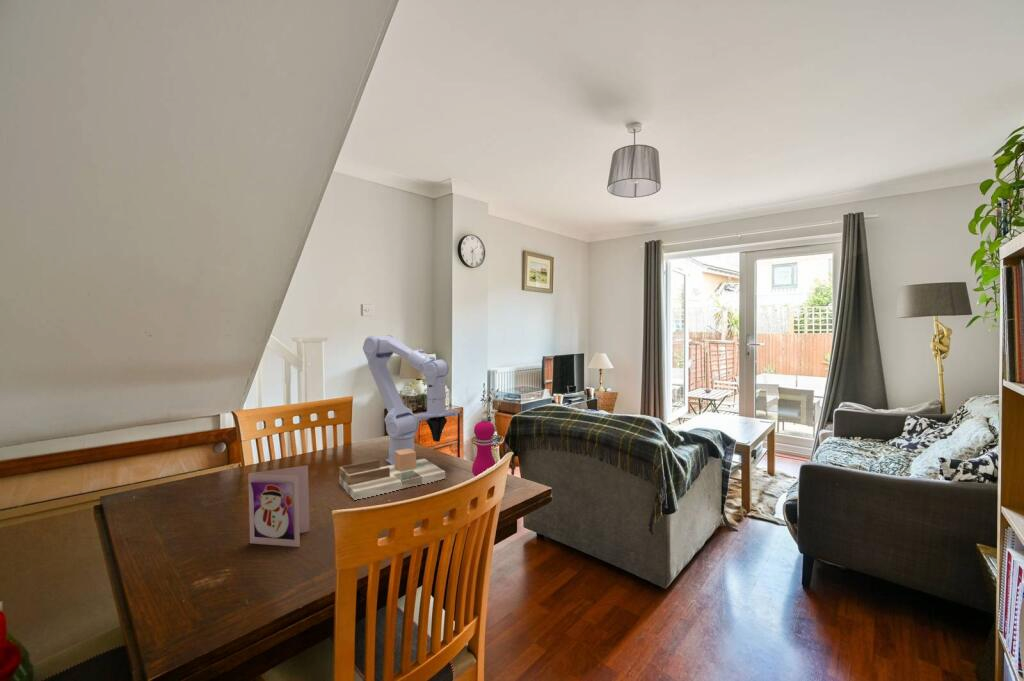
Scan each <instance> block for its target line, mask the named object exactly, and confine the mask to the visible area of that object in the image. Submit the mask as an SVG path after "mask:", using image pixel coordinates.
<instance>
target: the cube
mask: <svg viewBox="0 0 1024 681" xmlns="http://www.w3.org/2000/svg"><path fill="white" fill-rule="evenodd" d="M416 460H417V452H416V450H415V449H414V450H412V449H410V448H408V449H402V450H397V451H394V467H395V468H396V469H398V470H399V471H400V472H401V471H406V470H411V469H415V468H416Z"/></svg>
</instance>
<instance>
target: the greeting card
mask: <svg viewBox="0 0 1024 681" xmlns="http://www.w3.org/2000/svg"><path fill="white" fill-rule="evenodd" d="M247 478H248V510H249V511H248V512H249V513H248V514H249V515H248V516H249V543H250V544H255V545H256V544H257V545H269V546H281V547H295V548H296V547H297V548H300V547H301V546H300V544H301V543H300V542H301V539H300V534H304V533H308V532H310V498H309V495H310V494H309V465H301V466H293V467H287V468H280V469H278V468H277V469H273V470H272V469H271V470H264V471H257V472H250V473H248V476H247Z"/></svg>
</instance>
